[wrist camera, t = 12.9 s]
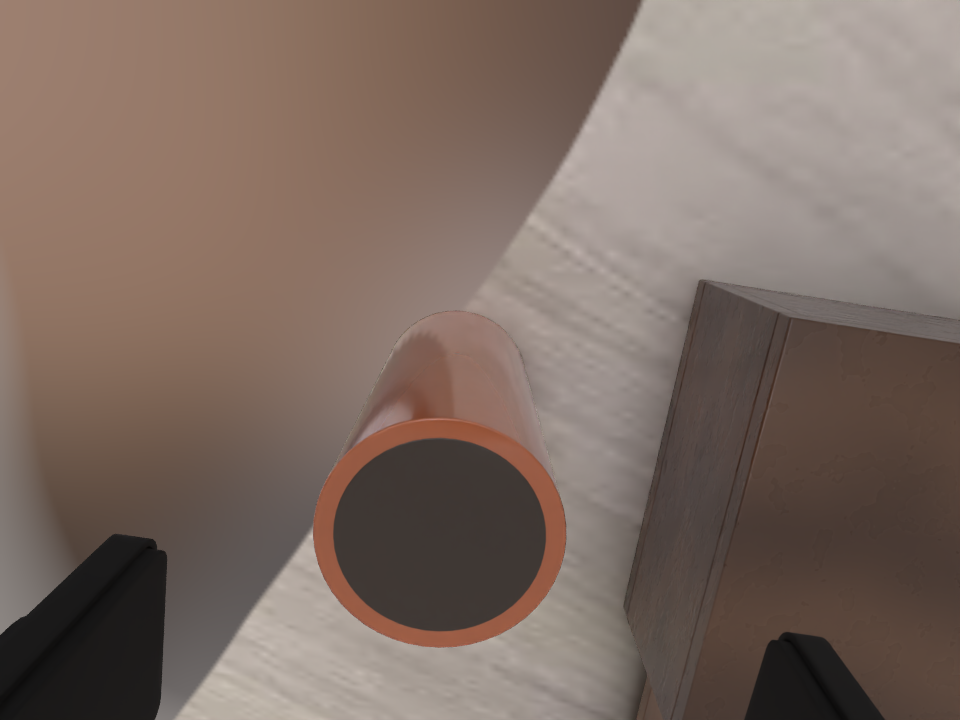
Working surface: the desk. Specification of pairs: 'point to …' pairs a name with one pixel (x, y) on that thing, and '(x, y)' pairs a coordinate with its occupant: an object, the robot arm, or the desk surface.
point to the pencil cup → (443, 492)
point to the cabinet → (804, 504)
